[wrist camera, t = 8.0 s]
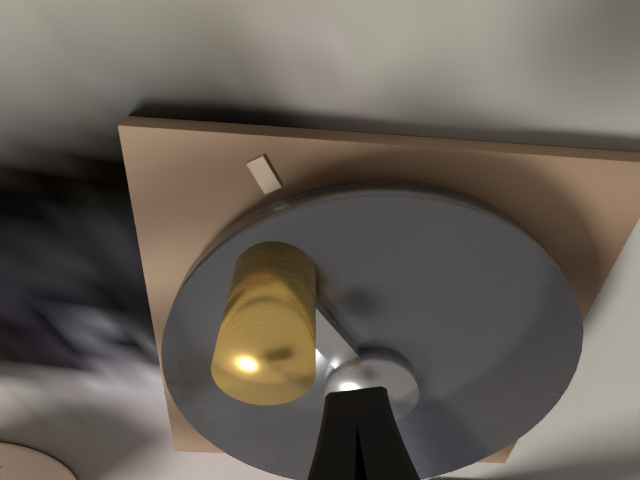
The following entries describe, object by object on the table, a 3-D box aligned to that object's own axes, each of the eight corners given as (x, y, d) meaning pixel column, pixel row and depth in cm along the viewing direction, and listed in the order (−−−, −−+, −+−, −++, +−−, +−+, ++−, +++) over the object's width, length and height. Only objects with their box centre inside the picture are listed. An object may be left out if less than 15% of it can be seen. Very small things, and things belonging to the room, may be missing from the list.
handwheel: (615, 161, 16) (757, 271, 11) (520, 447, 27) (571, 576, 21) (122, 187, 17) (33, 305, 12) (212, 459, 27) (187, 588, 22)
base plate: (499, 447, 29) (505, 465, 28) (179, 435, 28) (174, 453, 27) (652, 153, 18) (670, 165, 17) (127, 115, 17) (116, 126, 16)
